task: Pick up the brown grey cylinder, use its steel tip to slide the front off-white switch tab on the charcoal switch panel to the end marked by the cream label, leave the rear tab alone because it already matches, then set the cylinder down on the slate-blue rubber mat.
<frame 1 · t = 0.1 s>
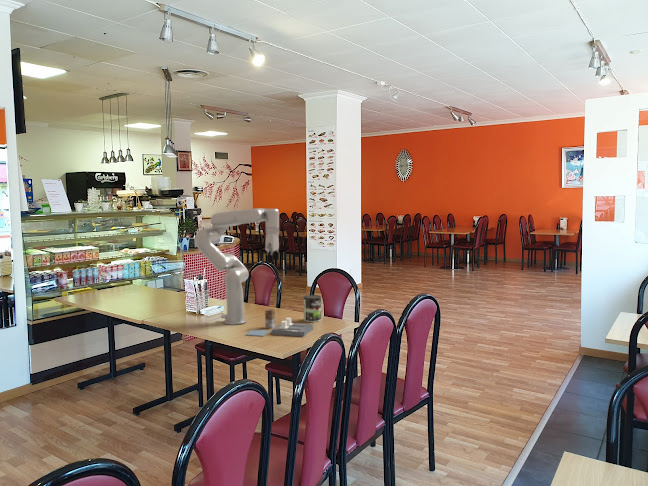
hand: (273, 261, 286), 37 cm above the table, tool pointing down, fingers open, 9 cm apart
tab b: (288, 321, 278), point 5 cm above the table, slide at 0.0 cm
tab a: (283, 324, 271), point 5 cm above the table, slide at 0.0 cm
brown grey cylinder: (270, 327, 284), on the table
switch panel: (292, 331, 275), on the table
coffee can: (312, 320, 300), on the table
tool mat: (257, 333, 272), on the table
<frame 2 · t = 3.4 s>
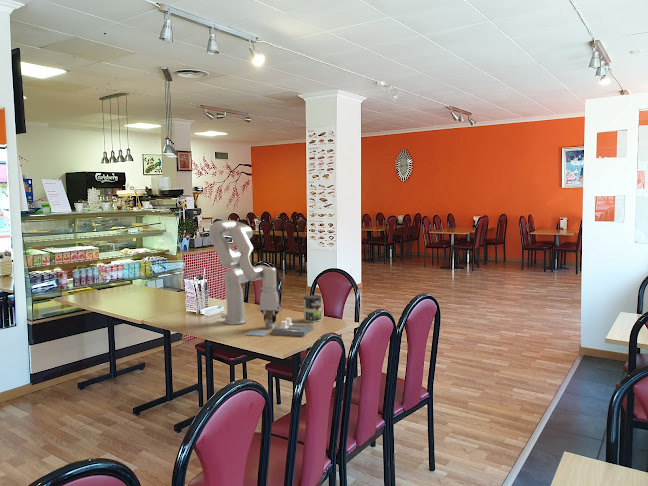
hand: (270, 321, 283), 3 cm above the table, tool pointing down, fingers closed on brown grey cylinder, 4 cm apart
brown grey cylinder: (270, 327, 284), on the table, touching gripper
everything else where it was.
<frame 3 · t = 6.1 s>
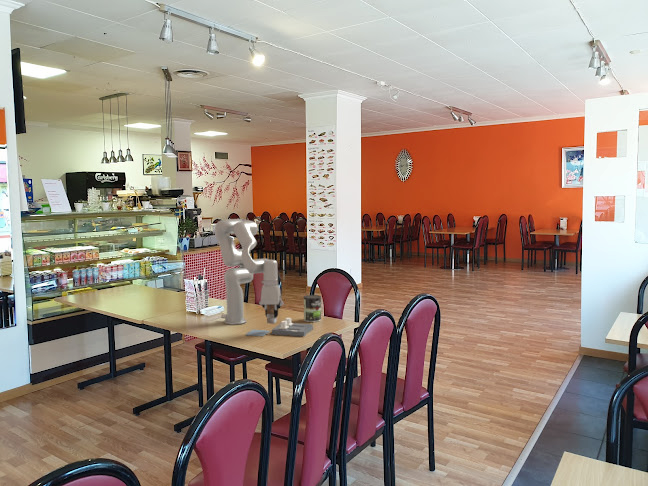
hand: (271, 316, 273), 9 cm above the table, tool pointing down, fingers closed on brown grey cylinder, 4 cm apart
brown grey cylinder: (271, 322, 273), point 5 cm above the table, touching gripper
everything else where it was.
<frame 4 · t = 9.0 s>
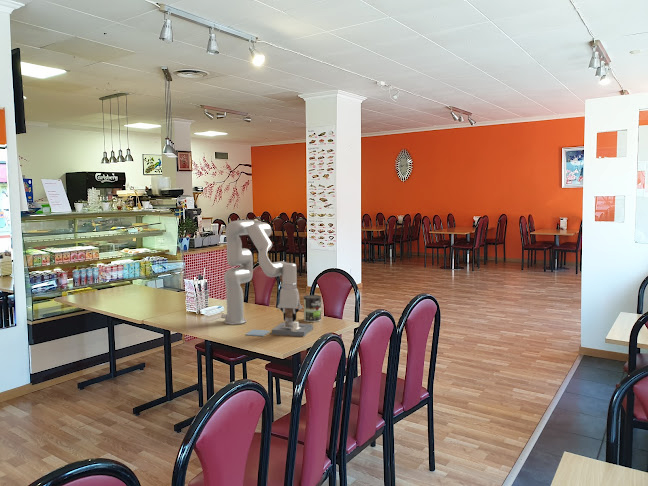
hand: (290, 320, 270), 7 cm above the table, tool pointing down, fingers closed on brown grey cylinder, 4 cm apart
tab a: (295, 325, 270), point 5 cm above the table, slide at 6.6 cm, touching brown grey cylinder
brown grey cylinder: (290, 326, 271), point 4 cm above the table, touching gripper, tab a
everything else where it was.
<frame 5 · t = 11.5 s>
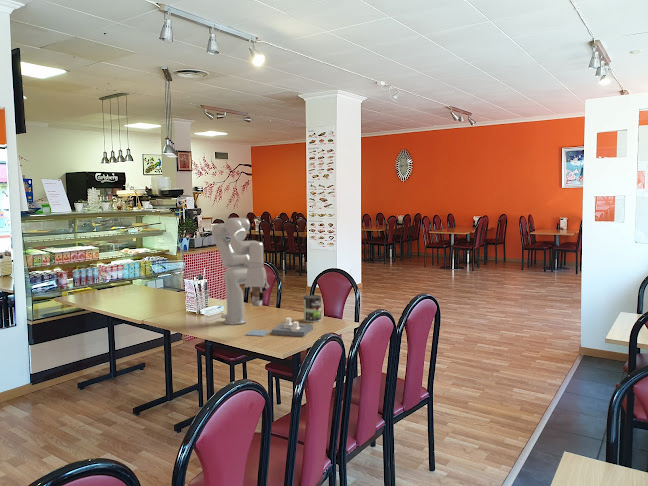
hand: (257, 299, 270), 19 cm above the table, tool pointing down, fingers closed on brown grey cylinder, 4 cm apart
tab a: (295, 325, 270), point 5 cm above the table, slide at 6.6 cm
brown grey cylinder: (257, 305, 270), point 15 cm above the table, touching gripper
everything else where it was.
when the fingers open (5 cm above the table, at t = 13.8 s): brown grey cylinder stays where it is, resting on tool mat.
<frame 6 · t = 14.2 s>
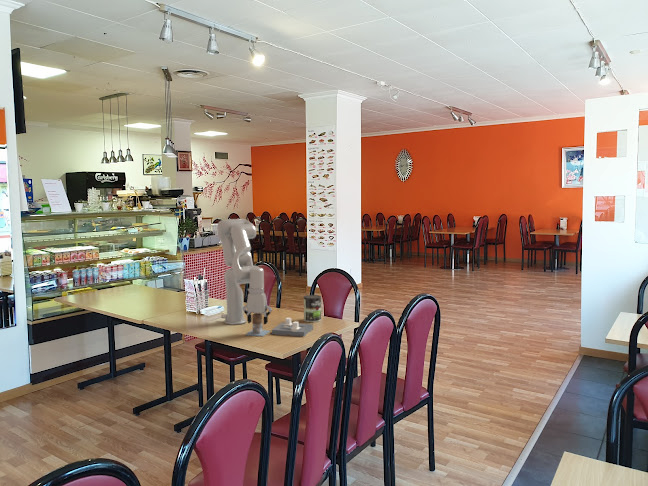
hand: (257, 323, 271), 6 cm above the table, tool pointing down, fingers open, 8 cm apart
brown grey cylinder: (257, 332, 272), resting on tool mat
everything else where it was.
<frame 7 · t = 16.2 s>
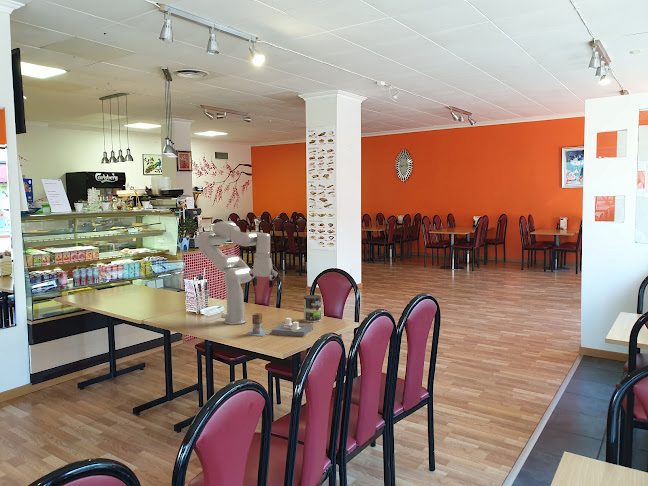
hand: (262, 286, 281), 23 cm above the table, tool pointing down, fingers open, 9 cm apart
nothing on the table moved.
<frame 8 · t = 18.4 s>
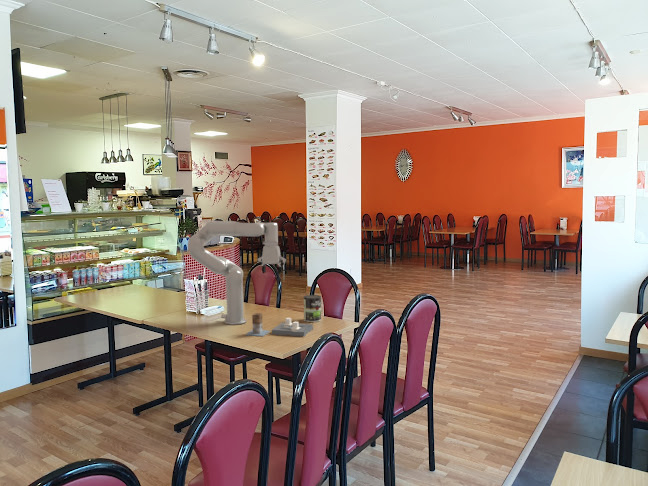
hand: (271, 273, 295), 28 cm above the table, tool pointing down, fingers open, 9 cm apart
nothing on the table moved.
at the end: tab a slide at 6.6 cm; tab b slide at 0.0 cm; brown grey cylinder inside the target area on the tool mat (0.0 cm from its centre), point 0.5 cm above the tool mat's base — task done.
